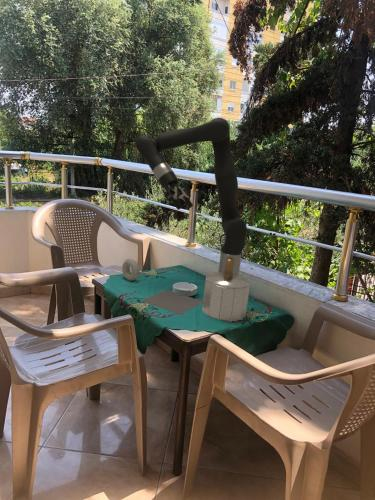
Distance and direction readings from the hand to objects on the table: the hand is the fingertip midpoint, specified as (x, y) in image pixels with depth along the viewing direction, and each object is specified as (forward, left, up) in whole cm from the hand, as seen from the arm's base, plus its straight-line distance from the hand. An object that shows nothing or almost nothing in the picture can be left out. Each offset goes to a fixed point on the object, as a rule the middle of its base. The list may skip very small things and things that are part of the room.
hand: (185, 207), depth 168 cm
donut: (+4, -23, -37) cm, 44 cm away
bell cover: (+6, +25, -37) cm, 45 cm away
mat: (+12, +6, -37) cm, 39 cm away
